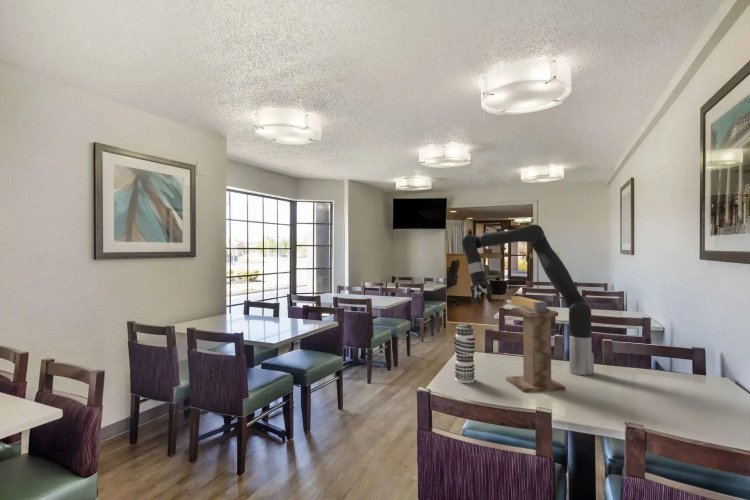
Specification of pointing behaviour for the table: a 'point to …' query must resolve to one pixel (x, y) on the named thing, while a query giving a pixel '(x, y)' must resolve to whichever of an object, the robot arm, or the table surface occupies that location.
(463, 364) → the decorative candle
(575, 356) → the robot arm
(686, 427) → the table surface
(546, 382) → the stand
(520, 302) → the tan rectangular block
